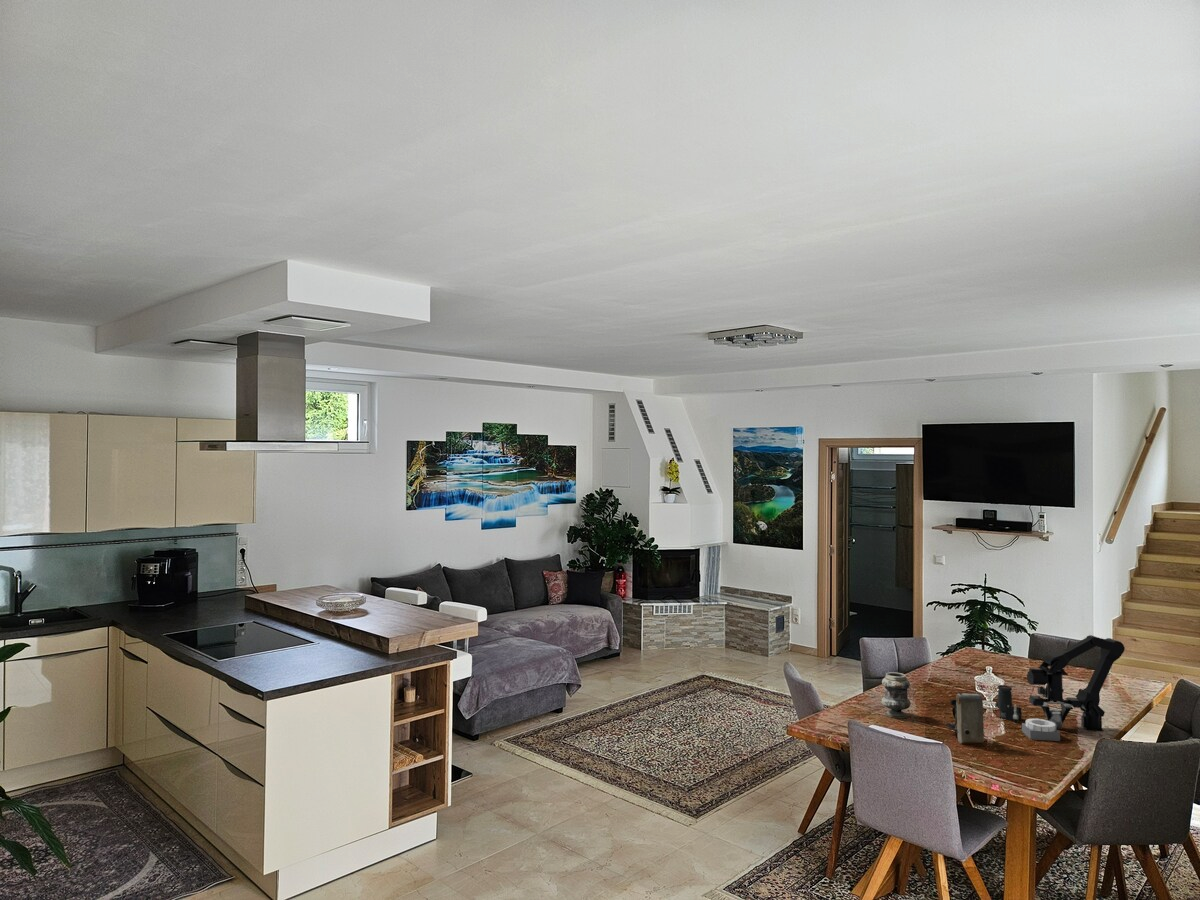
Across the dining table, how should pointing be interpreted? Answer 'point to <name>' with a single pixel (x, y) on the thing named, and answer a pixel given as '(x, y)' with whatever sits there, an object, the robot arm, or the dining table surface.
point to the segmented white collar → (1040, 730)
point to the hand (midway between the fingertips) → (1055, 722)
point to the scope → (1007, 704)
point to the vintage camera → (968, 718)
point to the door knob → (1056, 717)
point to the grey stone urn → (896, 694)
